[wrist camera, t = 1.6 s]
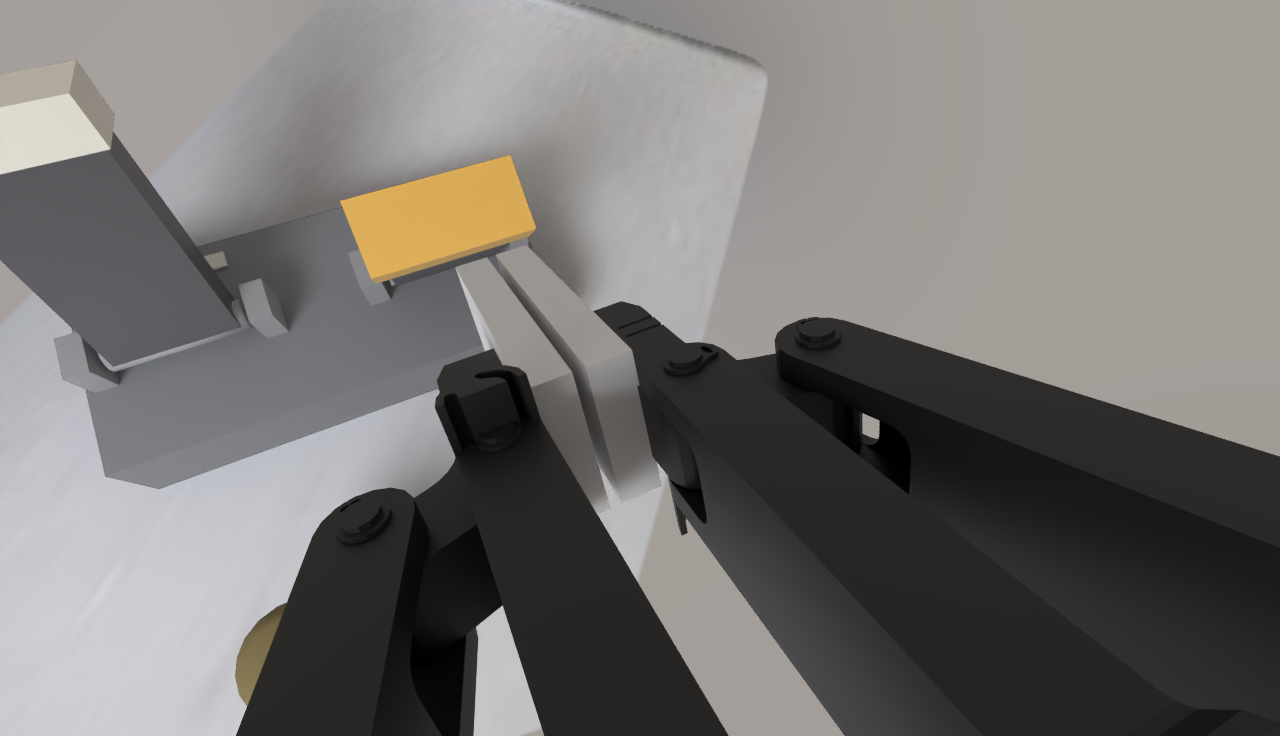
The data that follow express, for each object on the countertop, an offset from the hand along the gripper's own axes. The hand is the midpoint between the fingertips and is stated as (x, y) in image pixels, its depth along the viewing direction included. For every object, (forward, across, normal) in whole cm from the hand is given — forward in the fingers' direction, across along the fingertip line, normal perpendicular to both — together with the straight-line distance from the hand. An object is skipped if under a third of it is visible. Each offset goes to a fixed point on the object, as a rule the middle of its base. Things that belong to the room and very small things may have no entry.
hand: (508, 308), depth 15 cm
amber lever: (+25, 0, -5) cm, 26 cm away
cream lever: (+25, -15, -5) cm, 30 cm away
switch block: (+30, -8, -10) cm, 32 cm away
